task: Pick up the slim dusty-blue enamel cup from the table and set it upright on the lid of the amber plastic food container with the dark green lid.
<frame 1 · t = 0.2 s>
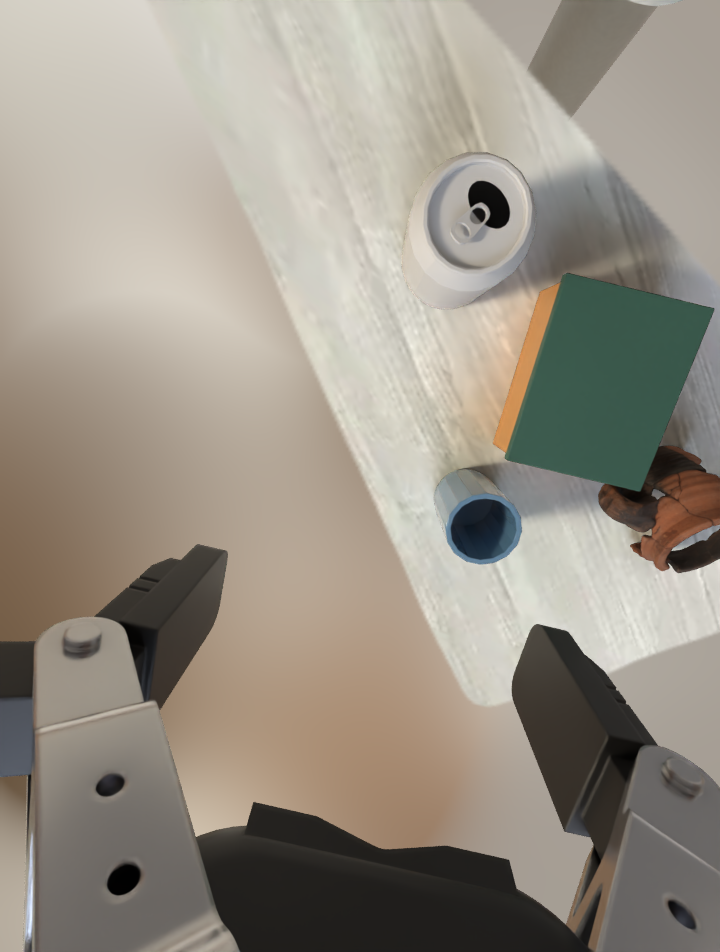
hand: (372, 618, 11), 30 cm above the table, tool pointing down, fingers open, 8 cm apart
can: (446, 262, 37), on the table
container: (571, 384, 38), on the table
brown jagged ring: (641, 496, 41), on the table
cup: (464, 498, 41), on the table
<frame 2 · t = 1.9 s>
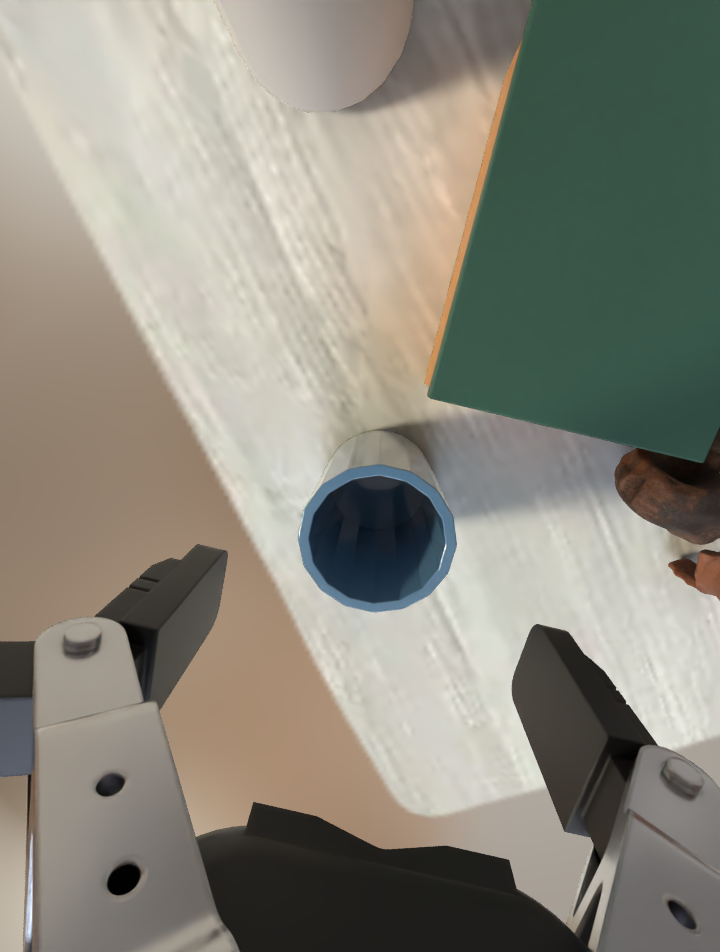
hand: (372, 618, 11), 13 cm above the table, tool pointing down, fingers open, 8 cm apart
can: (323, 23, 19), on the table
container: (565, 269, 21), on the table
brown jagged ring: (688, 478, 23), on the table
cup: (378, 482, 24), on the table
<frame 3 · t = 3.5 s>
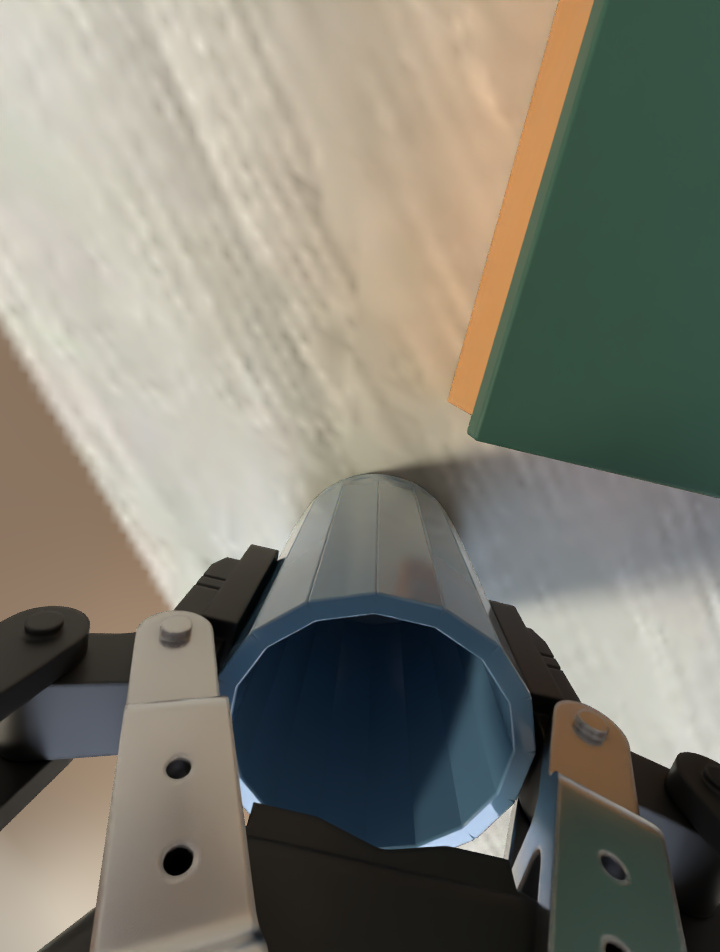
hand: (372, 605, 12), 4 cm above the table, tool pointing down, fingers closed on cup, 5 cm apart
container: (684, 214, 13), on the table
cup: (375, 551, 15), on the table, touching gripper
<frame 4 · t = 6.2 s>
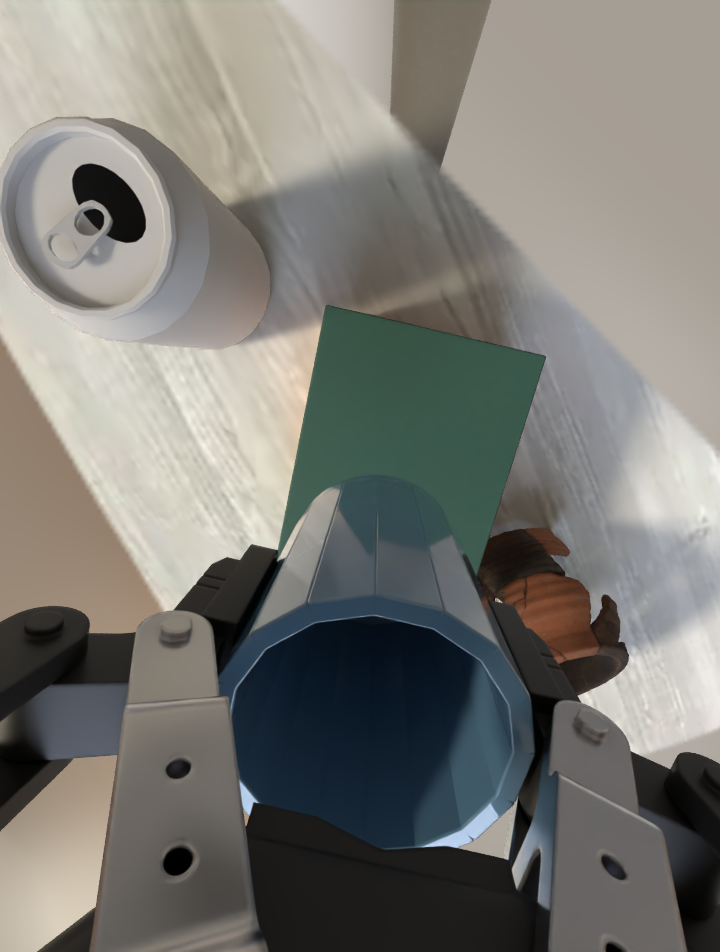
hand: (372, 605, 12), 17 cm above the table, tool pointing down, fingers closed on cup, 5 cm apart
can: (212, 285, 27), on the table
container: (396, 447, 28), on the table
brown jagged ring: (504, 591, 31), on the table
cup: (374, 552, 15), point 14 cm above the table, touching gripper
when the fingers open (10 cm above the table, at t = 8.8 s): cup stays where it is, resting on container.
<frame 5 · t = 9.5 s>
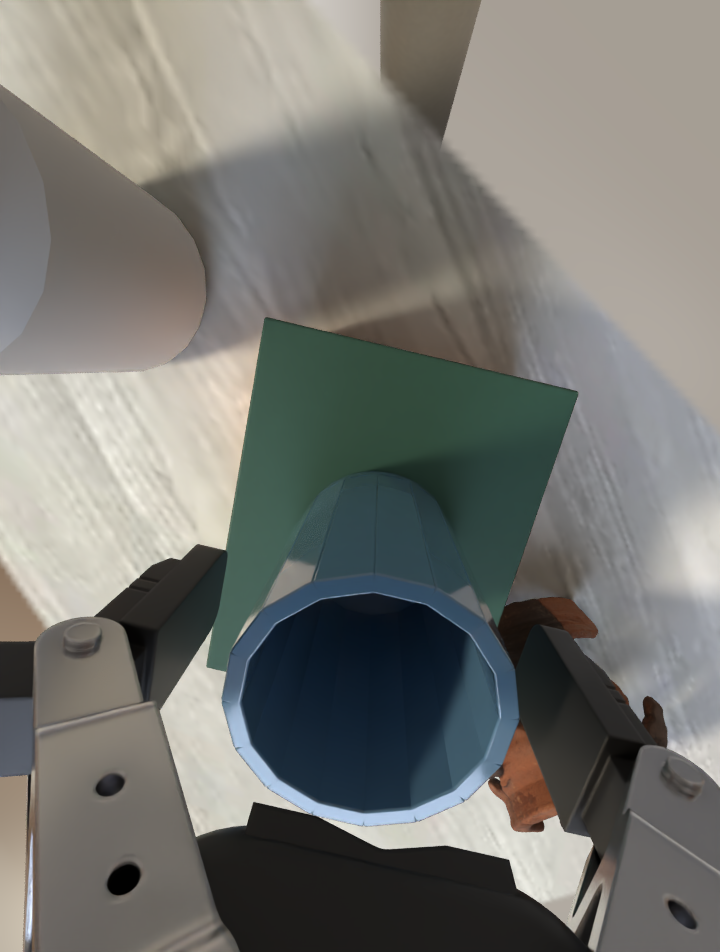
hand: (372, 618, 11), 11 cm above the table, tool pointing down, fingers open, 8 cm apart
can: (134, 287, 20), on the table
container: (376, 496, 22), on the table, touching cup
brown jagged ring: (513, 671, 24), on the table
cup: (374, 545, 16), point 6 cm above the table, touching container
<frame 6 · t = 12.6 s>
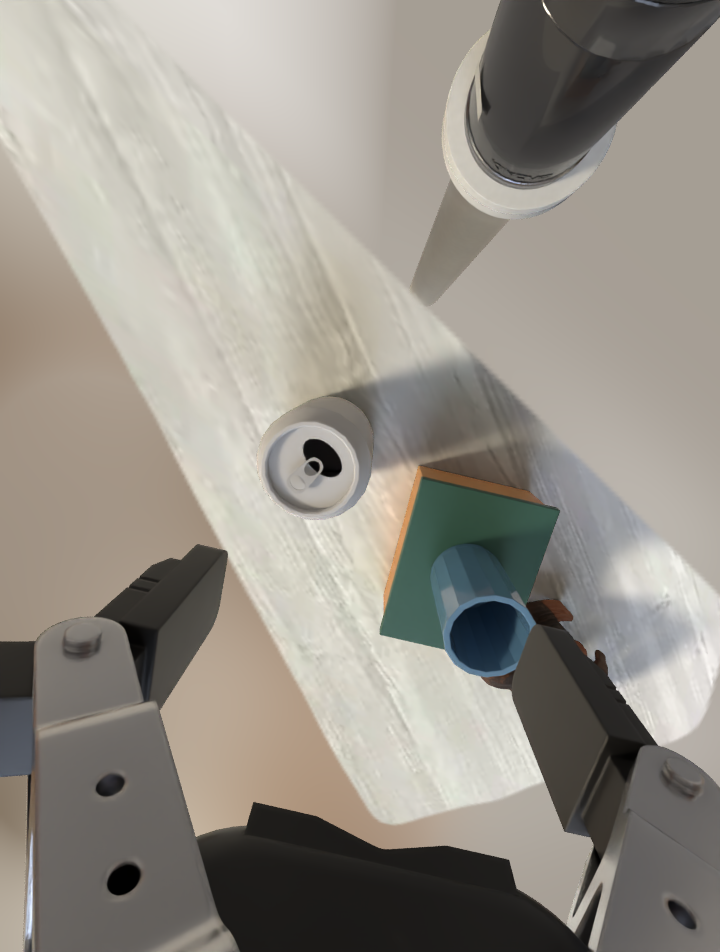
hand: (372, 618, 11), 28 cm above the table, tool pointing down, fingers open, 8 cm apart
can: (331, 438, 39), on the table
container: (453, 545, 41), on the table, touching cup
brown jagged ring: (527, 641, 43), on the table
cup: (465, 576, 35), point 6 cm above the table, touching container
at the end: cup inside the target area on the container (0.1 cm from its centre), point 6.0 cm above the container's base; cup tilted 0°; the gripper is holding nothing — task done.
